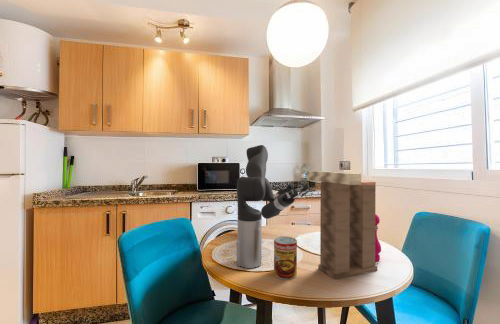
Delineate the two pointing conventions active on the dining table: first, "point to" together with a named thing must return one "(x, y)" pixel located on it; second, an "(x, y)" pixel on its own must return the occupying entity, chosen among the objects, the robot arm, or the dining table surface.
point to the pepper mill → (377, 244)
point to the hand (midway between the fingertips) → (300, 186)
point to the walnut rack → (347, 229)
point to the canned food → (285, 257)
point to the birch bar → (335, 177)
